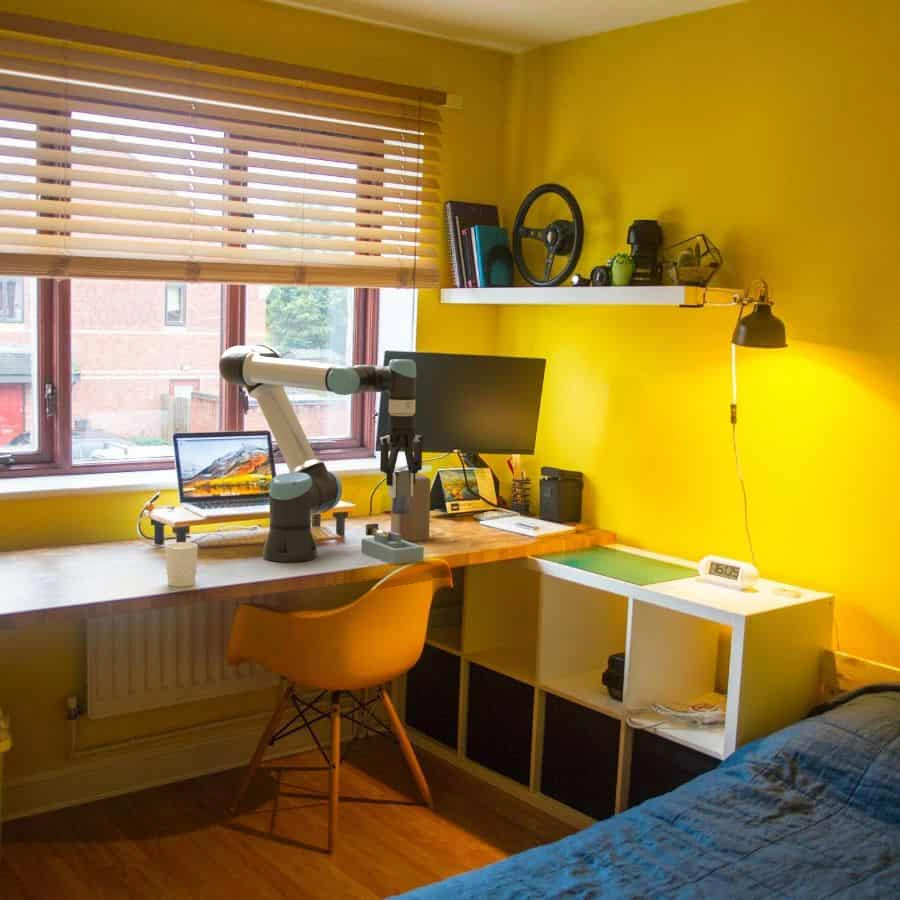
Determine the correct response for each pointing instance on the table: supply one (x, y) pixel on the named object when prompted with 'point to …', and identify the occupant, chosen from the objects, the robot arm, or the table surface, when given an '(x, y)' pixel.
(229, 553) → the table surface
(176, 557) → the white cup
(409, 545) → the mount
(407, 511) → the spigot
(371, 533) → the lock pin
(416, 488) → the wooden block
